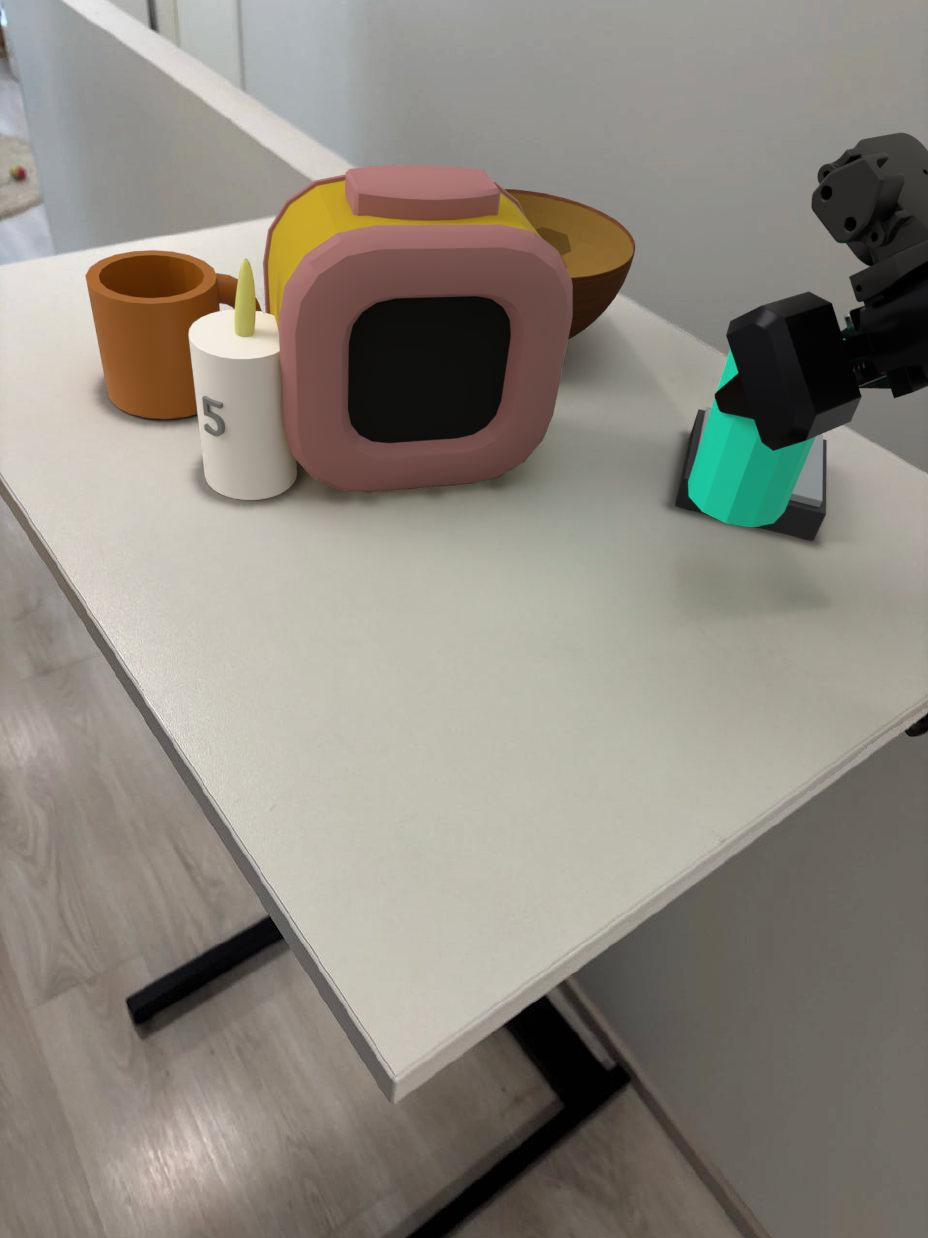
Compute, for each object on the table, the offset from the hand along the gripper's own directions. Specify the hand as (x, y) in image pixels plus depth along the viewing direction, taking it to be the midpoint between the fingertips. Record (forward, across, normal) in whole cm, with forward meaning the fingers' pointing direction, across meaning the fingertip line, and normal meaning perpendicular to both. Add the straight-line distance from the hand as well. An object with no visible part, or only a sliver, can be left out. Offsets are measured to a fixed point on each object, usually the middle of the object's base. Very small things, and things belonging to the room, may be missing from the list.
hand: (753, 389), depth 52 cm
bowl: (+30, -8, -12) cm, 34 cm away
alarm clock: (+24, +10, -5) cm, 26 cm away
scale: (+13, -11, +6) cm, 18 cm away
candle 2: (+4, 0, +6) cm, 7 cm away
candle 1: (+26, +21, -7) cm, 34 cm away
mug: (+34, +20, -16) cm, 42 cm away
